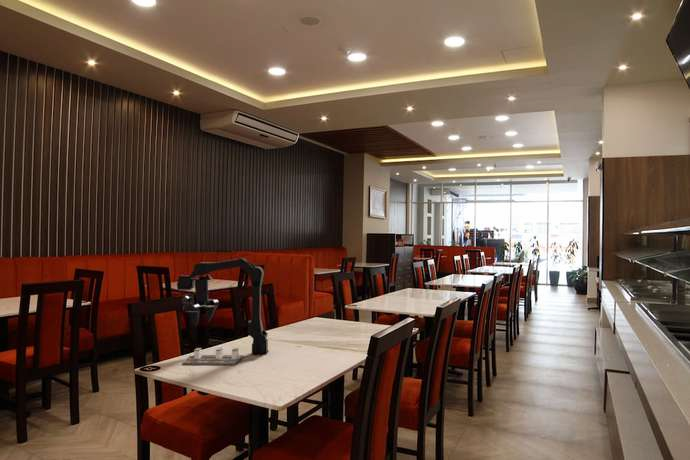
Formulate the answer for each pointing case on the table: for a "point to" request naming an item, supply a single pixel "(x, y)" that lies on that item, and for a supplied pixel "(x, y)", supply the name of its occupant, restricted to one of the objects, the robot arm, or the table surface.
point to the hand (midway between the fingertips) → (201, 324)
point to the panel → (212, 360)
